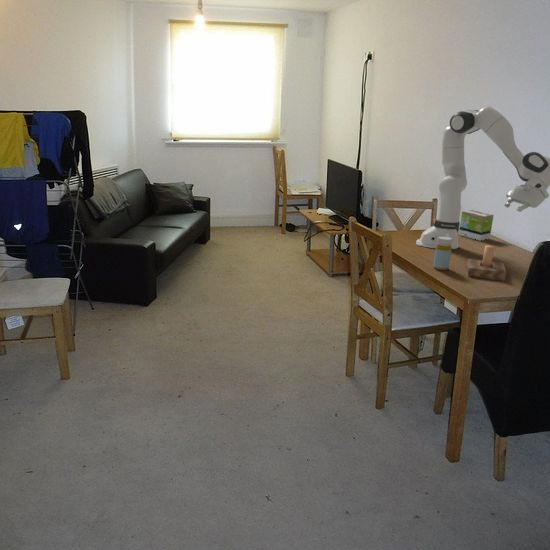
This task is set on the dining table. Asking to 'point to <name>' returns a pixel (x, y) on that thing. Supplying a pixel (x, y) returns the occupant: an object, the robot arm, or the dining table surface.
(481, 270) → the socket block
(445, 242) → the bottle
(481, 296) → the dining table surface
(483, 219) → the tea box
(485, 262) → the peg
